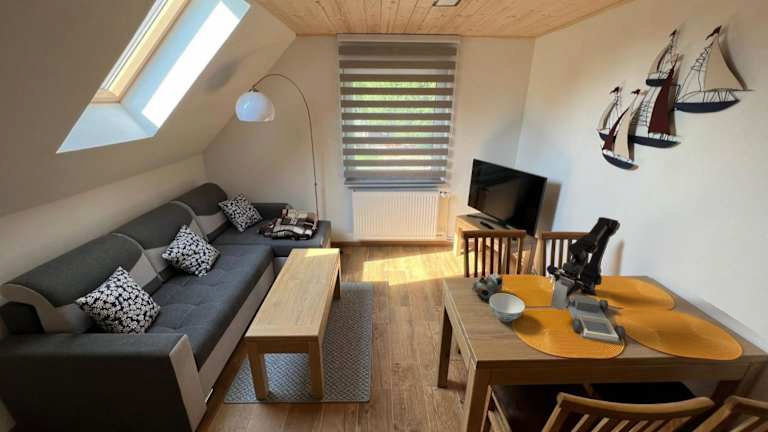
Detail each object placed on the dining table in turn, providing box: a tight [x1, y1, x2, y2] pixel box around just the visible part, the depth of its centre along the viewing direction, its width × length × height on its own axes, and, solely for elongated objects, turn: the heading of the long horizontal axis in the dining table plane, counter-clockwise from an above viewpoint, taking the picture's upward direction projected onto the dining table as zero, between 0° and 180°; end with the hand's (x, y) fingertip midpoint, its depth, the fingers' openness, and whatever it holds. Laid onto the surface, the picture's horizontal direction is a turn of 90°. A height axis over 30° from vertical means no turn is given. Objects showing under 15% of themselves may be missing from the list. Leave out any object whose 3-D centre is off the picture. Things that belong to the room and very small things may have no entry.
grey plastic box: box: [550, 278, 574, 311], centre depth 145 cm, size 6×5×12 cm
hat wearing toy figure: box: [549, 269, 568, 291], centre depth 169 cm, size 9×4×12 cm, turn 88°
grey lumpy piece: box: [471, 273, 504, 302], centre depth 165 cm, size 15×12×14 cm
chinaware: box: [489, 292, 526, 323], centre depth 148 cm, size 15×15×8 cm
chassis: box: [567, 294, 626, 344], centre depth 147 cm, size 27×18×5 cm, turn 165°
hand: (560, 293), depth 144 cm, fingers closed on grey plastic box, 5 cm apart
